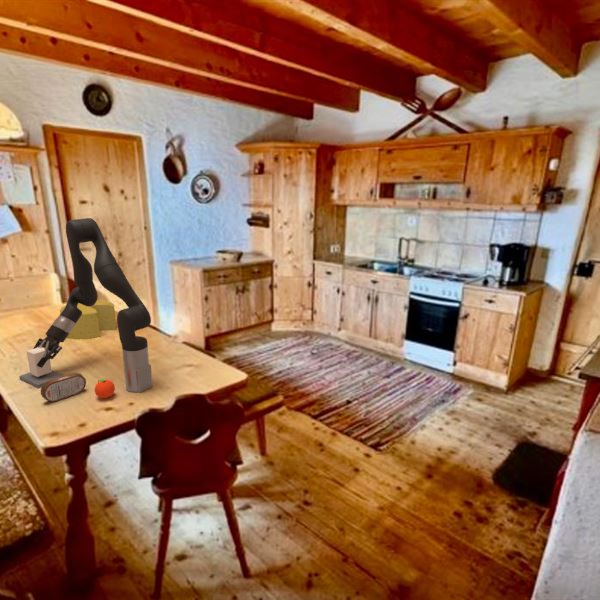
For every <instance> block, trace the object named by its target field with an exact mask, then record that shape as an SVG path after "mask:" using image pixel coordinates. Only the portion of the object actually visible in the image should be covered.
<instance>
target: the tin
mask: <svg viewBox="0 0 600 600" xmlns="http://www.w3.org/2000/svg"><path fill="white" fill-rule="evenodd" d="M86 385H87V380H86V377H84V376H83V374H81V373H80V372H72V373H69V374H65V375H64V376H61V377H58V378H54V379H51V380H49V381H47V382H46V383H45V384H44V385H43V386H42V387H41V388H40V396H41V397H42V398H43V399H44V400H46V401H48V402H58V401H61V400H64V399H67V398H69V397H73V396H76V395H78V394H80V393H81V392H83V390H84V389H85V387H86Z"/></svg>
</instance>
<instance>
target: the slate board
mask: <svg viewBox="0 0 600 600" xmlns="http://www.w3.org/2000/svg"><path fill="white" fill-rule="evenodd" d="M61 376H65V375H64V374H62V373H59V372H57V371H54V370H52V372H50V373H48V374H45V375H42V376H39V377H37V376H35V375H32V374H30V372H26V373H24V374H22V375H19V380H20V381H23V382H24V383H26V384H29V385H31V386H32V387H34V388H37V389H41V388H42V386H43V385H44V384H45V383H46V382H47V381H49V380H51V379H54V378H58V377H61Z"/></svg>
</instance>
